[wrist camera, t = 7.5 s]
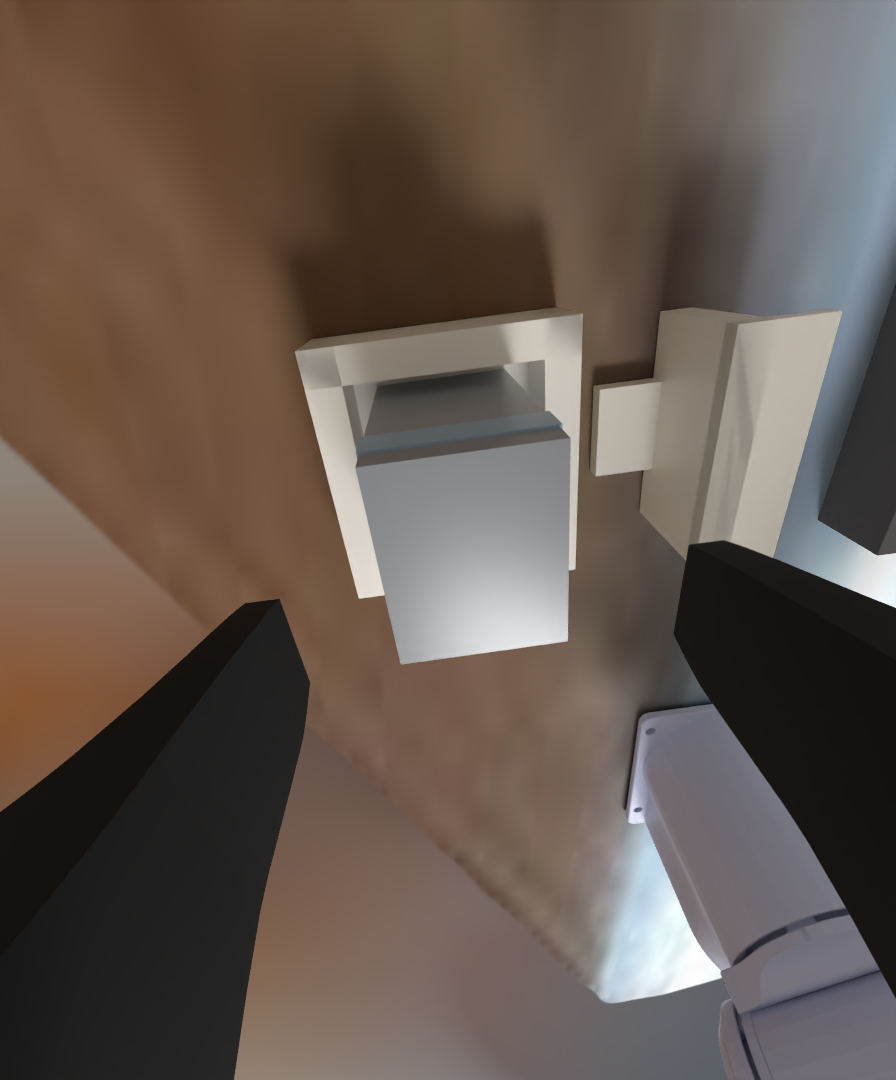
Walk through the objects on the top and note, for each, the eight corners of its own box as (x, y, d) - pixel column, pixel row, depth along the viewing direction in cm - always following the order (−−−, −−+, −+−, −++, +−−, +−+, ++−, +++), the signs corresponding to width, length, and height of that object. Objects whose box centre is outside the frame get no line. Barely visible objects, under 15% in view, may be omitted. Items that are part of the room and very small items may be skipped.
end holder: (555, 534, 18) (575, 569, 16) (364, 559, 18) (359, 598, 16) (556, 307, 14) (582, 313, 12) (311, 338, 14) (294, 351, 12)
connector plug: (517, 595, 19) (567, 745, 13) (418, 609, 19) (422, 765, 13) (505, 366, 15) (573, 434, 9) (375, 384, 15) (352, 465, 9)
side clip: (703, 503, 18) (772, 558, 15) (588, 518, 18) (630, 577, 15) (739, 300, 15) (842, 310, 11) (596, 319, 15) (655, 335, 11)
